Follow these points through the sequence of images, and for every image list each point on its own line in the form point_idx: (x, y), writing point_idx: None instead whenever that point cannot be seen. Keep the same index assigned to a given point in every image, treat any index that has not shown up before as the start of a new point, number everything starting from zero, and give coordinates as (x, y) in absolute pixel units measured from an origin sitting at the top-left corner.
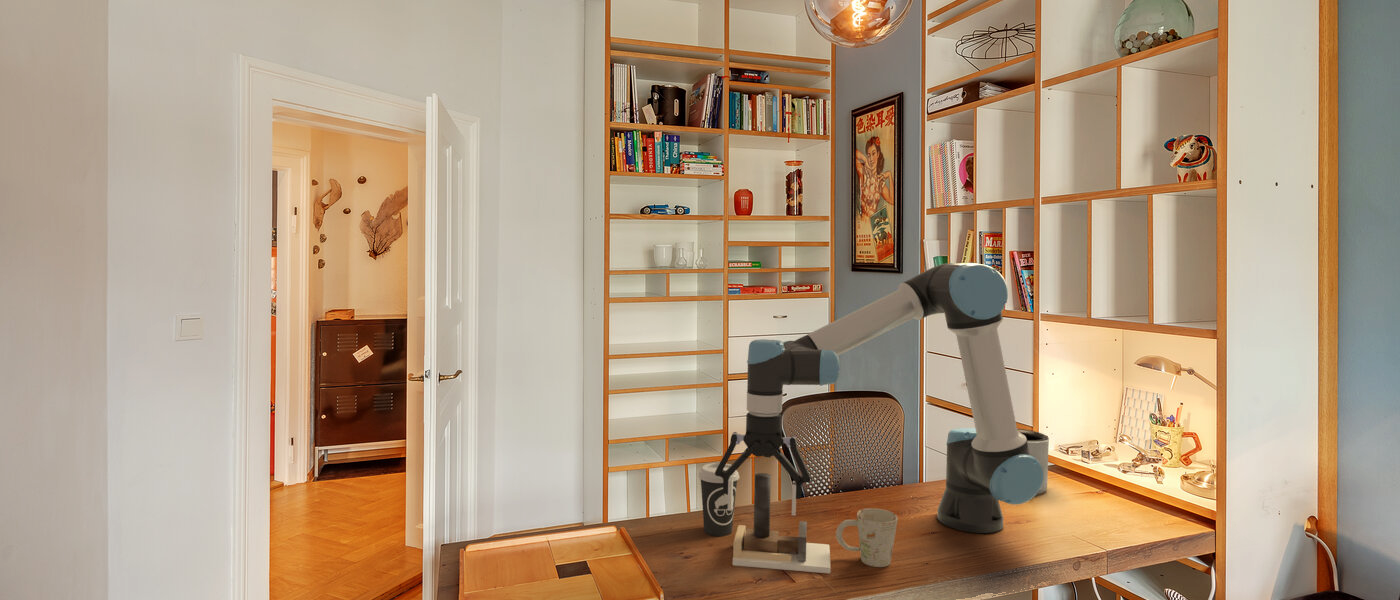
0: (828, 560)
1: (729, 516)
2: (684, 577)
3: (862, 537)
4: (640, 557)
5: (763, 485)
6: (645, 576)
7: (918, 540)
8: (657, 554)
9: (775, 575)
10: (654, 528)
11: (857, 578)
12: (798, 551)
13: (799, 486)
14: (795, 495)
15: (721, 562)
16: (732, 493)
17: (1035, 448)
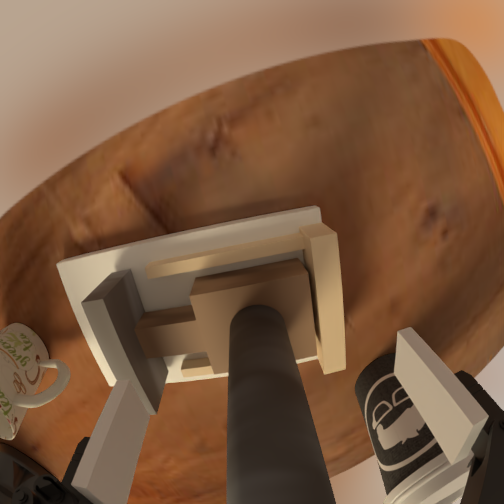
0: (73, 303)
1: (375, 402)
2: (404, 96)
3: (5, 359)
4: (498, 179)
5: (262, 479)
6: (466, 89)
7: (30, 427)
8: (480, 205)
9: (178, 188)
10: (490, 324)
11: (19, 258)
12: (120, 278)
13: (71, 482)
14: (88, 444)
15: (348, 213)
16: (421, 402)
17: None
